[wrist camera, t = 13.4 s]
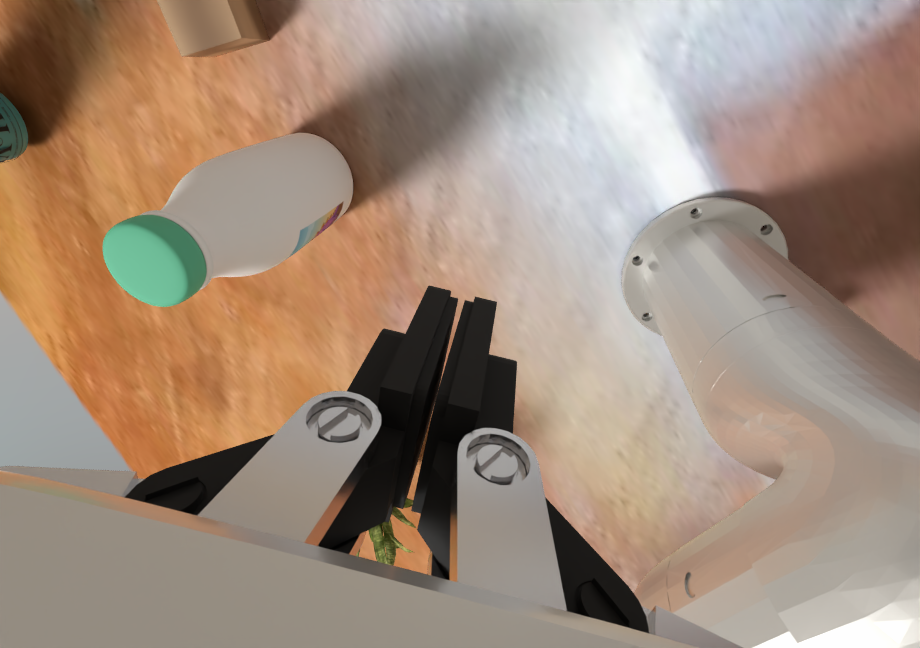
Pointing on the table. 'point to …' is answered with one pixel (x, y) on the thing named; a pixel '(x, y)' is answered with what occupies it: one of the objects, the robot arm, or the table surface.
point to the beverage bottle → (11, 131)
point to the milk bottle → (231, 218)
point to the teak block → (213, 25)
